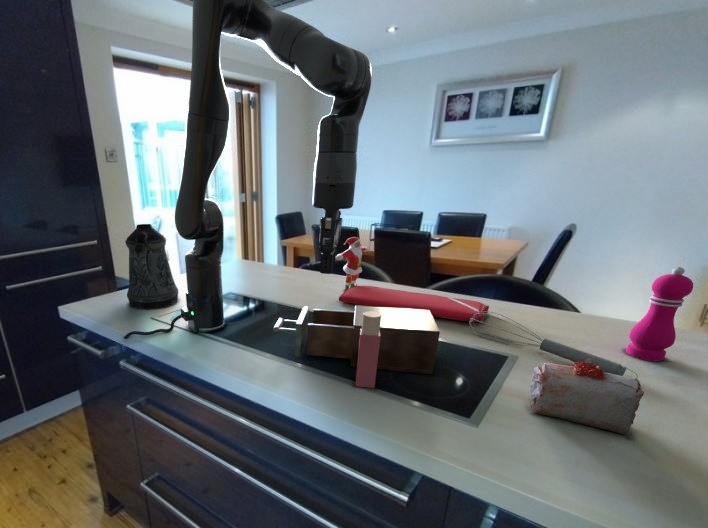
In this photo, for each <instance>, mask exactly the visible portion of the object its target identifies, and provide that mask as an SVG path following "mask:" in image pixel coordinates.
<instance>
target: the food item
mask: <svg viewBox="0 0 708 528" xmlns="http://www.w3.org/2000/svg"><path fill="white" fill-rule="evenodd" d="M636 378H637V377H630V376H625V375H623V376H620V375H615V374H611V373H606V372H603V369H602V368H601V367H600V366H597V365H594V363H592V360H591V359H587V360H586V361H582V362H579V361H578V362H574V363H573V366H572V365H566V364H558V363H551V362H546V361H545V362H543V364H542V366H539V365H537V366H534V368H533V375H532V378H531V381H530V384H529V400H530V406H531V408H532V412H533V413H535V414H539V415H543V416H548V417H551V418H558V419H563V420H566V421H570V422H575V423H578V424H582V425H586V426H590V427H594V428H597V429H601V430H605V431H610V432H615V433H617V434H621V435H626V436H629V435H630V434H631V431H630V430H631V427H632V425H634V422H635V418H636V416H637V414H636V412H637V411H638V410H639V407H640V405H641V404H640V401H641V399H642V398H643V396H644V394H645V392H644V391H643V390H642V385H641V383H640V380H638V378H637V379H636Z"/></svg>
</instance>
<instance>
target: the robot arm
mask: <svg viewBox="0 0 708 528" xmlns="http://www.w3.org/2000/svg"><path fill="white" fill-rule="evenodd" d="M191 23H192V27H191V29H192V31H191V32H192V34H191V35H192V36H191V39H192V42H191V43H192V44H191V46H192V47H191V69H190V70H191V71H190V85H189V96H188V97H189V98H188V103H187V105H188V106H187V113H186V114H187V115H186V126H185V142H184V152H183V160H182V169H181V177H180V183H179V187H178V193H177V198H176V203H175V209H174V224H175V229H176V231H177V233H178V234H179V236H180V237H181V238H182V239H184V240H187V241H194V244H193V246H192V247H191V249H190V250H189V251H188V252H186V254H185V256H184V263H185V277H186V287H187V291H186V292H185V300H186V302H185V303H186V306H184V307H180V314H178V315H177V316H175V317H174V318H173V319H172V320H171V323H170V327H169V328H158V329H157V328H156V329H154V330H150V331H139V330H133V331H129V332H128V333H126V334H125V335H124V336H123V339H129V338H130V337H131V336H135V335H138V336H153V335H156V334H159V333H170V332H172V331H173V330H174V328H175V324H176V322H177V321H179V320H180V319H182V320H184V321H185V322H187V323H188V325H187V326H188V327H189V328H190V330H192V331H193V332H194V333H211V332H212V333H213V332H216V331H220V330H222V329H224V328H225V314H224V313H225V311H224V293H223V275H222V273H223V272H222V258H223V253H224V248H225V247H224V245H225V244H224V243H225V242H224V240H225V239H224V231H225V228H224V215H223V212H222V209H221V207H220V205H219V204H218V203H217V202H216V201H214V200H213V199H209V198H206V194H207V189H208V184H209V180H210V178H211V176H212V174H213V173H214V170H215V169H216V167H217V165H218V163H219V161H220V159H221V158H222V155H223V153H224V152H225V149H226V146H227V142H228V136H229V130H230V122H231V113H232V112H231V104H230V98H229V95H228V91H227V87H226V85H225V80H224V76H223V72H222V67H221V43H222V34H223V35H225V36H228V37H236V38H239V39H240V38H241V39H244V40H247V41H250V42H253V43H256V44H257V45H258V46H260V47H262V48H263V49H264V50H265V52H267V53H268V55H270V57H271V58H273V59H274V60H275V61H276V62H277V63H279V64H280V65H282V66H284V67H285V68H286V69H288V70H290V71H292V72H293V73H294V74H296V75H298V76H300V77H301V79H303V80H304V81H305V82H306V83H307V85H309V86H310V87H311V88H313V89H314V90H315V91H317V92H319V93H321V94H323V95H325V96H328V97H331V98H333V102H332V106H331V110H330V113H329V114H326V115H324V116H322V118H321V119H320V121H319V124H318V129H317V144H316V157H315V162H314V168H313V170H314V171H313V188H312V203H311V204H312V207H313V208H315V209H323V211H324V215H323V216H322V217H321V218H320V219H319V235H318V239H319V240H318V241H319V246H318V251H319V253H320V262H319V263H320V264H319V273H320V274H325V275H330V274H331V273H332V271H333V265H334V264H336V259H335V258H336V256H337V246H338V244H339V240H340V238H341V230H342V226H343V217H341V215H342V211H341V210H348V209H351V208H353V206H354V200H355V192H356V191H355V190H356V180H357V169H358V162H357V159H358V158H357V156H358V154H357V153H358V144H359V130H360V125H361V122H362V118H363V116H364V112H365V109H366V107H367V102H368V99H369V96H370V92H371V86H372V79H373V78H372V77H373V74H372V73H373V72H372V66H371V65H372V64H371V62H370V60H369V57H368V56H367V55H366V54H365V53H364V52H362V51H359V50H357V49H355V48H352V47H350V46H348V45H345V44H342V43H340V42H338V41H336V40H334V39H332V38H330V37H328V36H326V35H325V33H323V32H322V31H321V30H319V29H318V28H316V27H314V26H313V25H311V24H309V23H308V22H305V20H302V19H300V18H298V17H297V16H295V15H292V14H290V13H287V12H285V11H281V10H279V9H277V8H276V7H273V6H272V5H271V4H269V2H267V1H266V0H193V1H192V21H191Z"/></svg>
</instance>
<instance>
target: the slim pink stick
mask: <svg viewBox="0 0 708 528" xmlns="http://www.w3.org/2000/svg"><path fill="white" fill-rule="evenodd" d="M380 321H381V314H380V313H378V312H371V311H370V312H364V313H363V321H362V329H360V339H359V350H358V361H357V367H356V371H355V373H356V374H355V387H362V388H369V389H375V387H376V380H377V378H376V377H377V371H378V369H377V362H378V353H379V345H380Z"/></svg>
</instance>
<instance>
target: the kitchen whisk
mask: <svg viewBox="0 0 708 528" xmlns="http://www.w3.org/2000/svg"><path fill="white" fill-rule="evenodd" d="M484 312H488V313H489V310H488V311H484ZM488 313H487V314H486V315H480V316H485V317H486V316H488V317H490V318H494V319H498V320H500V321H502V322H505V323H508V324H510V325H512V326H514V327H516V328H517V329H520V330H521V331H523V332H525V333H527V334H528V335H531V336H532V337H534V338H536V339H538V340H539V341H540V342H539V341H537V340H534V339H532V338H530V337H529V338H528V337H526V336H523V335H521V334H517V333H515V332H512V331H509V330H506V329H504V328H500V327H498V326H495V325H493V324H489V323H487V322H484V321H482V322H481V321H478V320H475V319H473V318H475V316H473V318H470V319H471V320H475V321H478V322H477V323H481V324H483V325H486V326H489V327H491V328H495V329H498V330H500V331H503V332H506V333H508V334H512V335H515V336H517V337H519V338H524V339H526V340H529V341H532V342H536V343H538V344H535V343H529V342H525V341H518V340H513V339H509V338H505V337H500V336H496V335H493V334H489V333H487V332H485V331H483V330H481V329H479V328H478V327H477V326H476V324H475V322H472V321H471V320H470V321H471V322H470V321H468V322H469V326H470V327H471V328H473V329H472V331H474V333H475V334H477V336H480V337H482V338H486V339H488V340H490V341H495V342H498V343H505V344H507V342H508V344H509V345H513V343H514V345H515V346H516V345H517V346H521V345H522V346H523V347H524V346H525V347H530V346H533V347H535V348H539V350H541V351H544V352H546V353H549V354H552V355H554V356H557V357H560V358H562V359H565V360H568V361H571V362H574V363H575V362H578V361H579V362H582V361H586V360H587V359H591V360H592V363H594V365H597V366H600V367H601V368H602V369H603V372H606V373H611V374H615V375H620V376H624V374H626V373H625V372H626V371H627V370H628V371H630V372H632V373H634V375H635V376H636V377H635V378H636V379H637V380H638V378H639V377H638V374H637V373H636V372H635V371H633V370H632V369H629V368H628V367H627V366H623V365H622V364H621V363H618V362H616V361H612V360H609V359H606V358H603V357H601V356H597V355H594V354H592V353H590V352H586V351H583V350H580V349H578V348H574V347H571V346H570V345H569V346H568V345H565V344H563V343H560V342H557V341H554V340H551V339H548V338H544V339H543V338H542V337H540V336H538V335H537V334H536V333H534V332H532V331H531V330H529V328H526V327H525V326H524V325H522V324H520V323H518V322H517V321H515V320H513V319H511V318H509V317H507V316H504V315H503V314H500V313H497V312H494V311H490V313H489V314H488ZM491 313H492V314H491ZM477 314H484V313H480V312H479V313H477ZM493 314H495V315H498V316H501V317H503V318H506V319H508V320H510V321H512V322H513V323H515V324H517V325H519V326H517V325H515V324H513V323H511V322H510V321H507V320H506V319H502V318H500V317H498V316H495V315H493ZM475 315H476V314H475ZM476 317H477V316H476ZM472 324H473V325H474V327H473V325H472ZM520 326H521V327H520ZM523 328H524V329H523ZM525 329H526V330H525ZM476 331H478V332H479V333H482V334H485V335H488V336H491V337H493V339H492V338H489V337H486V336H483V335H482V334H479V333H477V332H476ZM494 338H496V339H494ZM497 339H500V340H504V341H500V340H497ZM505 341H507V342H505ZM511 342H512V343H511Z"/></svg>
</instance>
